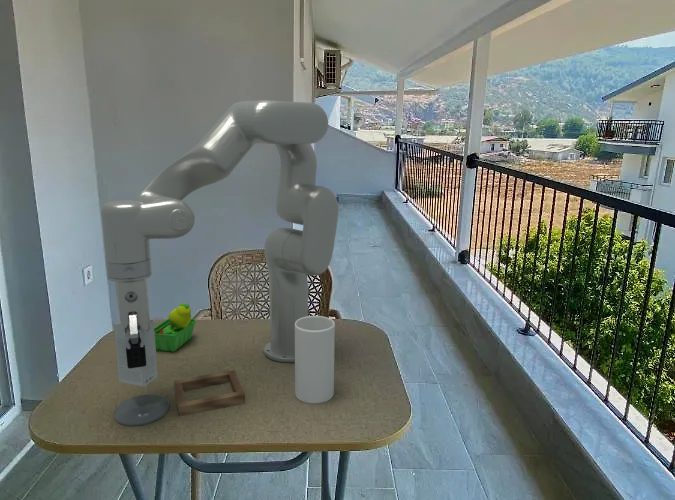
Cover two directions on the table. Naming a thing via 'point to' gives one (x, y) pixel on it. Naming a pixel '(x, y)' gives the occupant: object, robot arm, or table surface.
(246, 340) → the table surface
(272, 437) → the table surface
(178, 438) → the table surface
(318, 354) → the cup
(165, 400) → the slate coaster
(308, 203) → the robot arm
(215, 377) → the walnut holder
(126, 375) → the skincare box
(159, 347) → the fruit basket
